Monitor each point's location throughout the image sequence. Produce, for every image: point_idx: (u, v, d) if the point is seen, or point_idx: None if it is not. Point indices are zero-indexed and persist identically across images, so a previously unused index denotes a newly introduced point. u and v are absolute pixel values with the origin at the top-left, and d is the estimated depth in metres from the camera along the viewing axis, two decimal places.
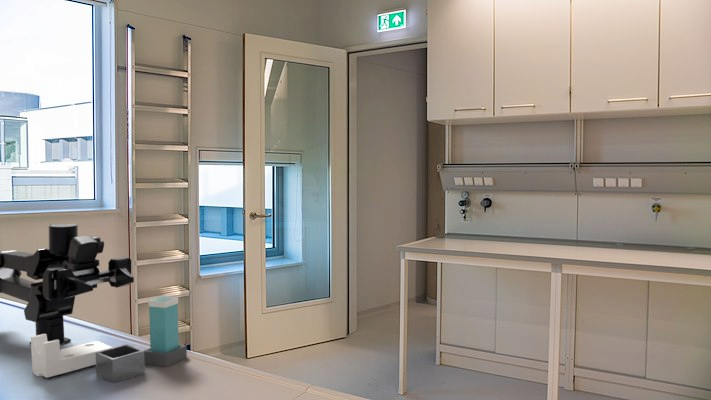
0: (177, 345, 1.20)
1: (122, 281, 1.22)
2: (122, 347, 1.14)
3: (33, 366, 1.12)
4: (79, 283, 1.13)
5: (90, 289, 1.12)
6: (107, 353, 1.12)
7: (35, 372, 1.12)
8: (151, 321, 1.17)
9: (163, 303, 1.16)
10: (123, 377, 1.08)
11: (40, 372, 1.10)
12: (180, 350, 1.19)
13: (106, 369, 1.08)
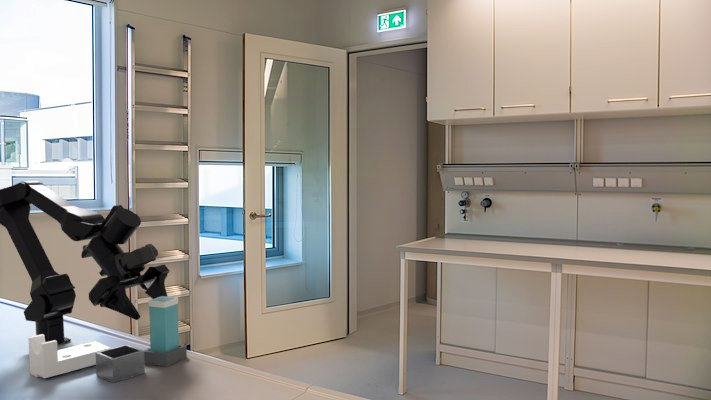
0: (177, 345, 1.20)
1: (156, 297, 1.25)
2: (122, 347, 1.14)
3: (31, 367, 1.12)
4: (128, 307, 1.15)
5: (136, 318, 1.15)
6: (107, 353, 1.12)
7: (33, 373, 1.11)
8: (151, 321, 1.17)
9: (163, 303, 1.16)
10: (123, 377, 1.08)
11: (38, 373, 1.09)
12: (180, 350, 1.19)
13: (106, 369, 1.08)
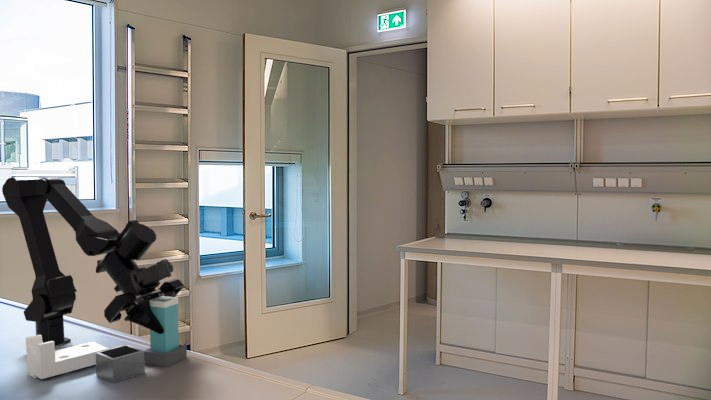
0: (177, 345, 1.20)
1: None
2: (122, 347, 1.14)
3: (28, 367, 1.11)
4: (153, 321, 1.16)
5: (160, 332, 1.16)
6: (107, 353, 1.12)
7: (30, 373, 1.11)
8: None
9: (163, 303, 1.16)
10: (123, 377, 1.08)
11: (35, 373, 1.09)
12: (180, 350, 1.19)
13: (106, 369, 1.08)
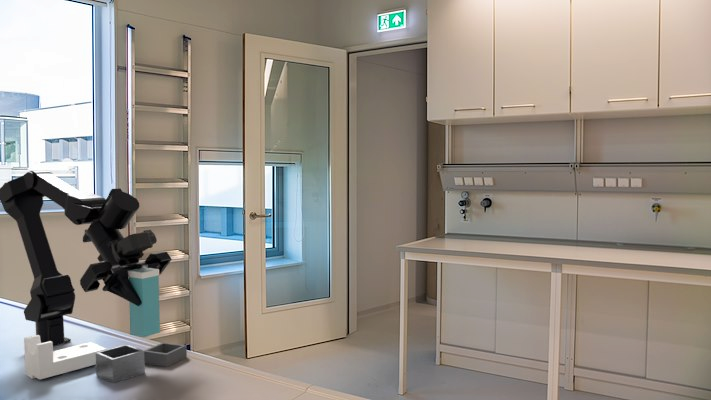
0: (158, 319, 1.15)
1: None
2: (122, 347, 1.14)
3: (26, 368, 1.11)
4: (130, 292, 1.12)
5: (137, 304, 1.12)
6: (107, 353, 1.12)
7: (28, 374, 1.11)
8: None
9: (141, 274, 1.11)
10: (123, 377, 1.08)
11: (34, 374, 1.09)
12: (180, 350, 1.19)
13: (106, 369, 1.08)
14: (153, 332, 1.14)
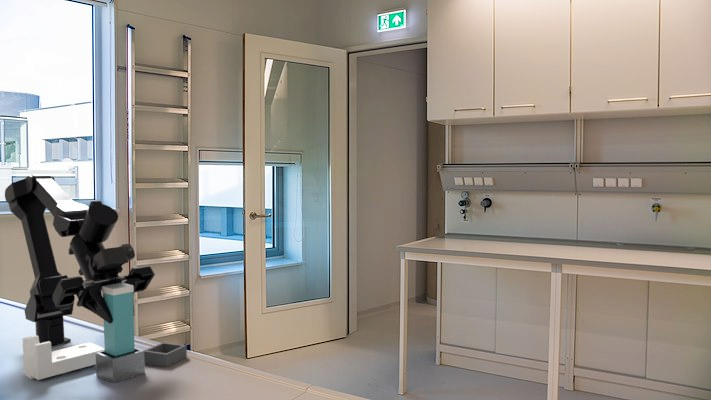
0: (132, 337, 1.11)
1: None
2: None
3: (25, 368, 1.11)
4: (102, 309, 1.08)
5: (109, 322, 1.08)
6: (107, 353, 1.12)
7: (27, 374, 1.11)
8: None
9: (111, 290, 1.07)
10: (123, 377, 1.08)
11: (32, 374, 1.09)
12: (180, 350, 1.19)
13: (106, 369, 1.08)
14: (126, 351, 1.10)
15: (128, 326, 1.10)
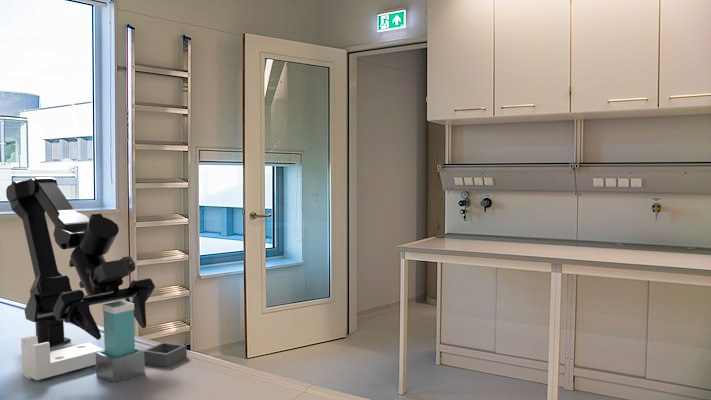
0: None
1: (135, 314, 1.16)
2: None
3: (23, 368, 1.11)
4: (89, 325, 1.06)
5: (97, 338, 1.06)
6: None
7: (25, 374, 1.10)
8: (105, 327, 1.10)
9: (112, 309, 1.08)
10: (123, 377, 1.08)
11: (31, 374, 1.08)
12: (180, 350, 1.19)
13: (106, 369, 1.08)
14: None
15: (129, 344, 1.10)
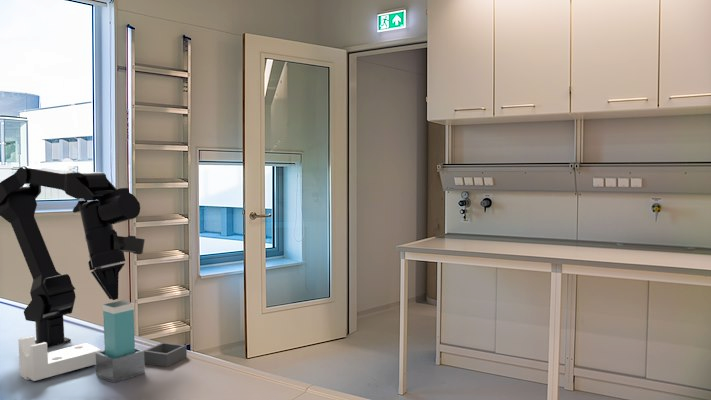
0: None
1: None
2: None
3: (21, 369, 1.11)
4: (116, 285, 1.17)
5: (113, 298, 1.18)
6: None
7: (23, 375, 1.10)
8: (105, 327, 1.10)
9: (112, 309, 1.08)
10: (123, 377, 1.08)
11: (28, 375, 1.08)
12: (180, 350, 1.19)
13: (106, 369, 1.08)
14: None
15: (129, 344, 1.10)
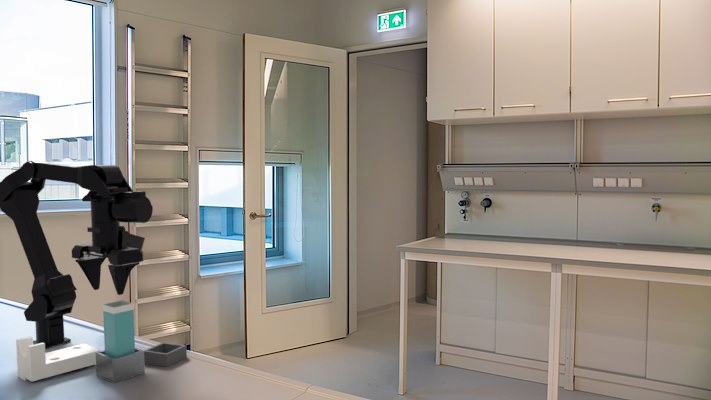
0: None
1: (91, 273, 1.27)
2: None
3: (18, 370, 1.10)
4: (125, 281, 1.23)
5: (119, 293, 1.22)
6: None
7: (20, 376, 1.10)
8: (105, 327, 1.10)
9: (112, 309, 1.08)
10: (123, 377, 1.08)
11: (26, 376, 1.08)
12: (180, 350, 1.19)
13: (106, 369, 1.08)
14: None
15: (129, 344, 1.10)
